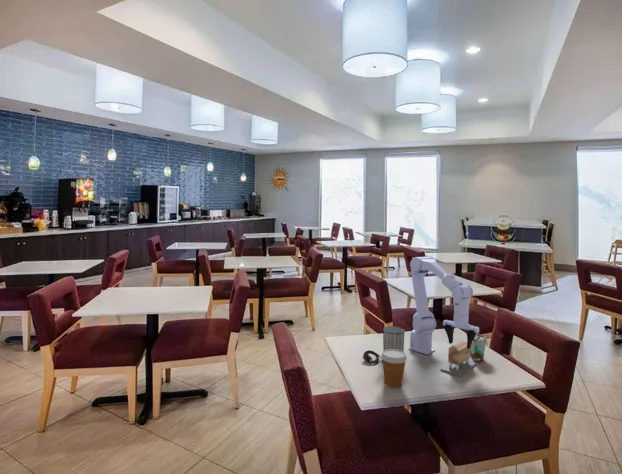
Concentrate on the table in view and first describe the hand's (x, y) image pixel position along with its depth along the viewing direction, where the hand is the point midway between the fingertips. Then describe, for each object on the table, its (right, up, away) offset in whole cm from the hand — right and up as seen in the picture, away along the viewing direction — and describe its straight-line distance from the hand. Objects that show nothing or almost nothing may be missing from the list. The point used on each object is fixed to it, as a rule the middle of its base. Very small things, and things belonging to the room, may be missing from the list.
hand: (459, 345), depth 162 cm
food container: (+13, -9, +11) cm, 19 cm away
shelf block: (0, -6, +1) cm, 6 cm away
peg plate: (0, -10, +1) cm, 10 cm away
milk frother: (-31, -9, +5) cm, 33 cm away
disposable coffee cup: (-31, -11, -15) cm, 36 cm away
